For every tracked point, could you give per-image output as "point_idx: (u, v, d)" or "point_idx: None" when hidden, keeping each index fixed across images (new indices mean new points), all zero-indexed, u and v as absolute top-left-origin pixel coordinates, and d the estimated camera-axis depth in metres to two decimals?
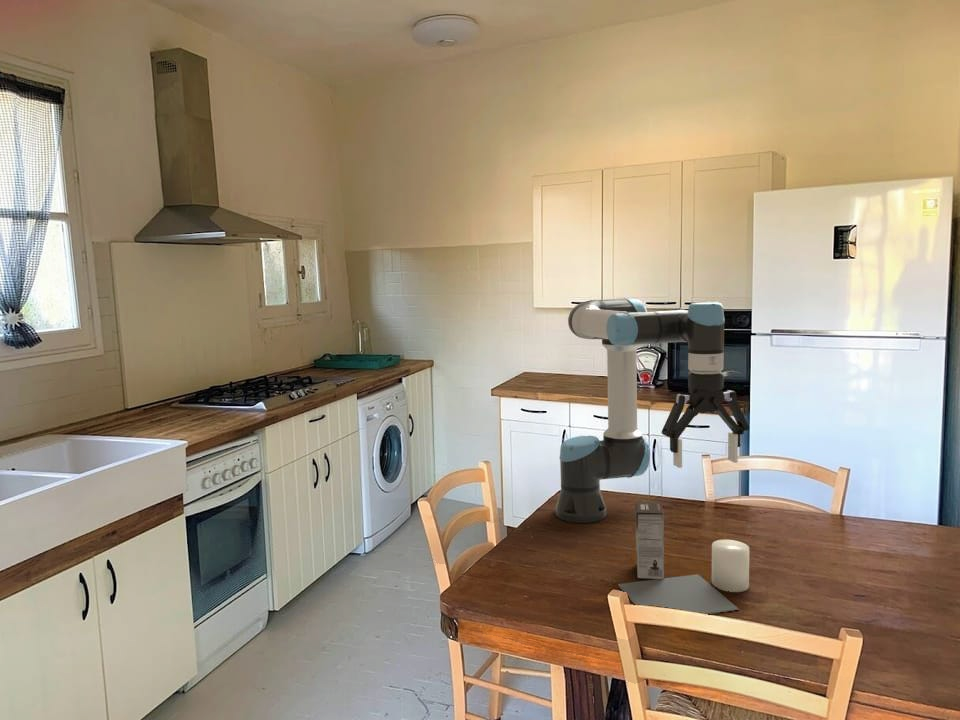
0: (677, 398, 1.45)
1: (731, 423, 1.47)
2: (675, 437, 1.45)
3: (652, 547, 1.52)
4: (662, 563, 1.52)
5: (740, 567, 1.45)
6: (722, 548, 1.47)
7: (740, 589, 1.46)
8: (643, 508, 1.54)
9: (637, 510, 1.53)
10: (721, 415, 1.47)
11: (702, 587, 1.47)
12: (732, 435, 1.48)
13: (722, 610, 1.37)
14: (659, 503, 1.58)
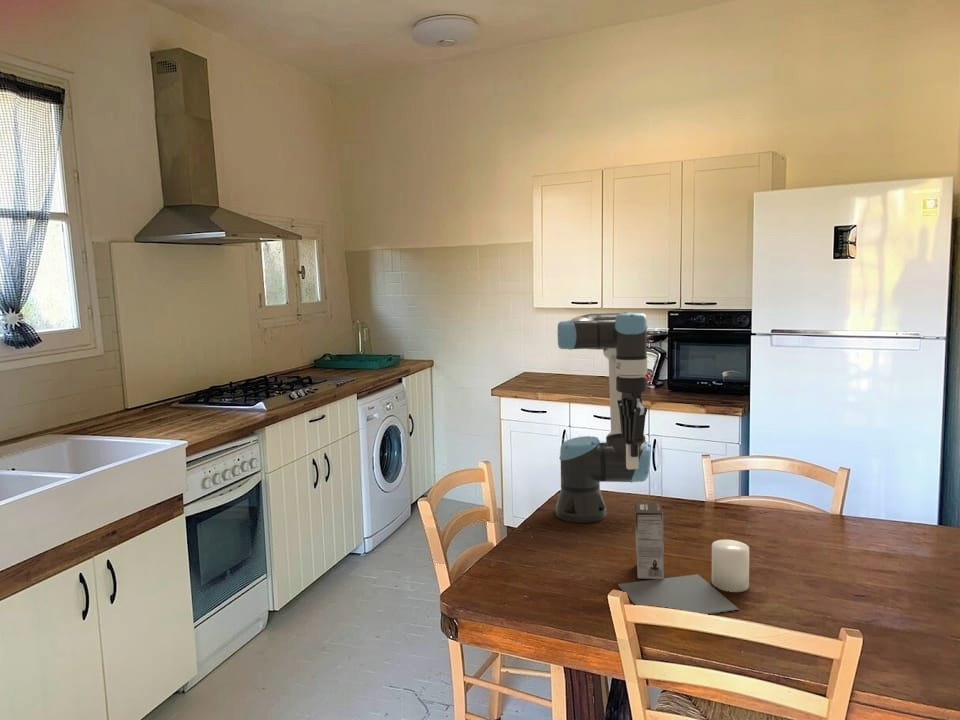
0: None
1: (629, 430, 1.61)
2: (625, 440, 1.64)
3: (652, 547, 1.52)
4: (662, 563, 1.52)
5: (740, 567, 1.45)
6: (722, 548, 1.47)
7: (740, 589, 1.46)
8: (643, 509, 1.54)
9: (636, 511, 1.53)
10: None
11: (702, 587, 1.47)
12: None
13: (722, 610, 1.37)
14: (658, 503, 1.58)
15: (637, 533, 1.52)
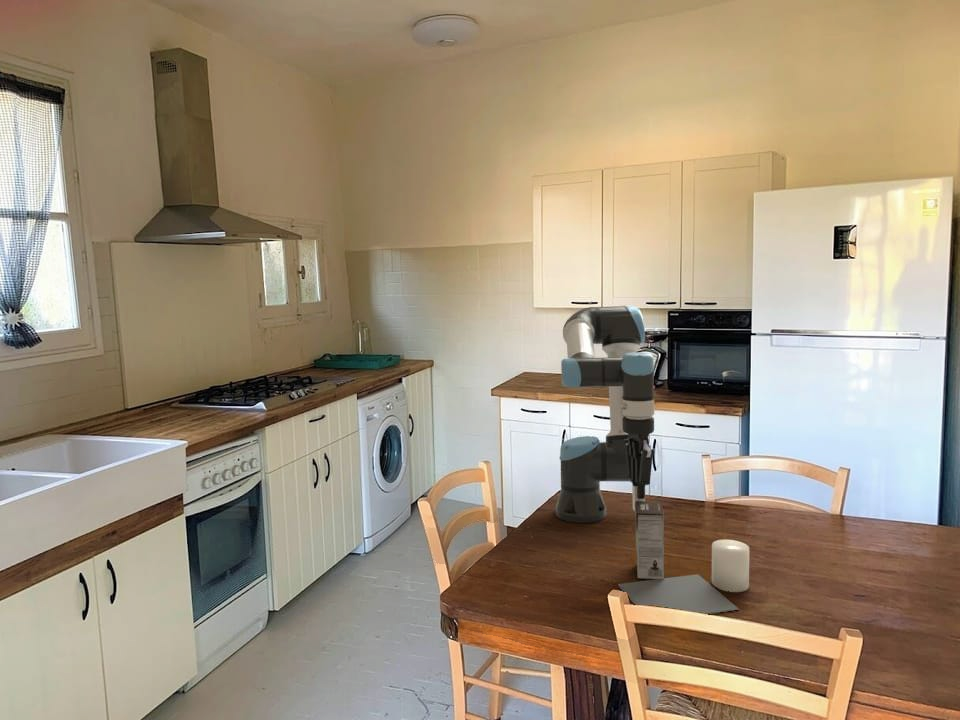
0: None
1: (635, 472, 1.59)
2: (631, 481, 1.61)
3: (652, 548, 1.51)
4: (662, 563, 1.51)
5: (740, 567, 1.45)
6: (722, 548, 1.47)
7: (740, 589, 1.46)
8: (643, 509, 1.54)
9: (637, 511, 1.52)
10: None
11: (702, 587, 1.47)
12: None
13: (722, 610, 1.37)
14: (659, 502, 1.57)
15: (637, 533, 1.52)
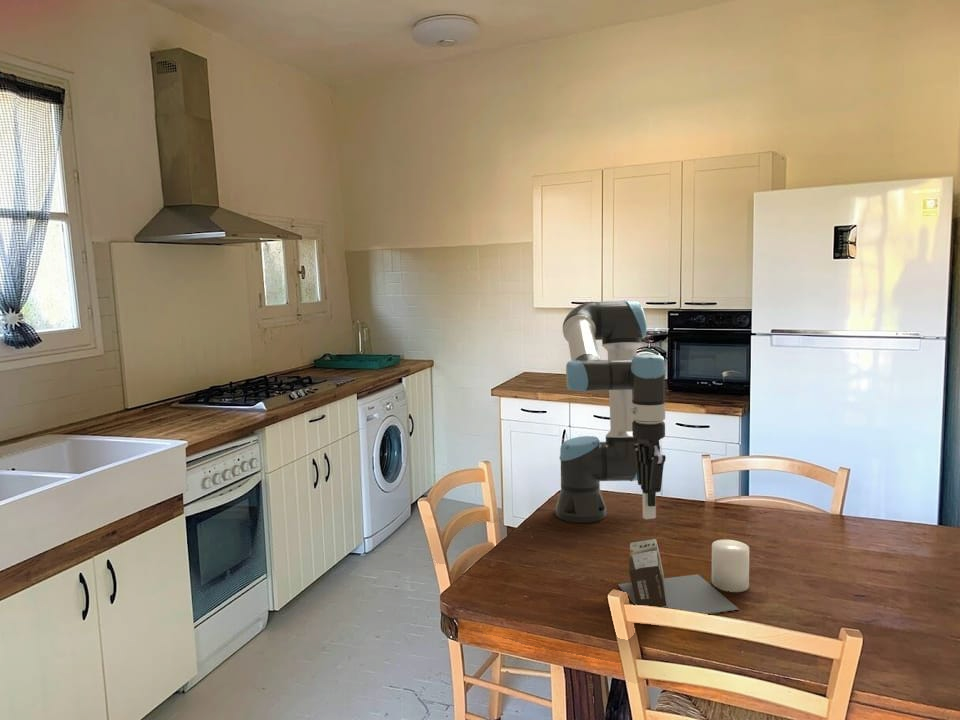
0: None
1: (646, 478, 1.53)
2: (641, 488, 1.56)
3: None
4: None
5: (740, 567, 1.45)
6: (722, 548, 1.47)
7: (740, 589, 1.46)
8: (643, 597, 1.37)
9: (637, 604, 1.37)
10: None
11: (702, 587, 1.47)
12: None
13: (722, 610, 1.37)
14: (657, 571, 1.36)
15: None
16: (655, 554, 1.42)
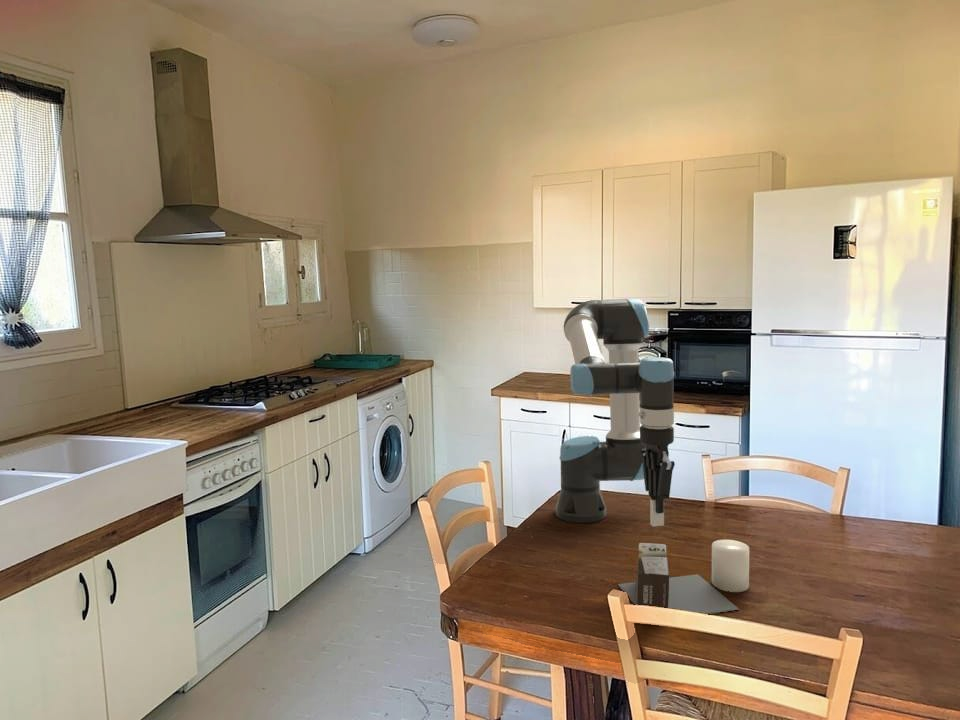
0: None
1: (654, 484, 1.49)
2: (649, 494, 1.52)
3: None
4: None
5: (740, 567, 1.45)
6: (722, 548, 1.47)
7: (740, 589, 1.46)
8: (646, 601, 1.36)
9: None
10: None
11: (702, 587, 1.47)
12: None
13: (722, 610, 1.37)
14: (666, 580, 1.35)
15: None
16: (665, 561, 1.41)
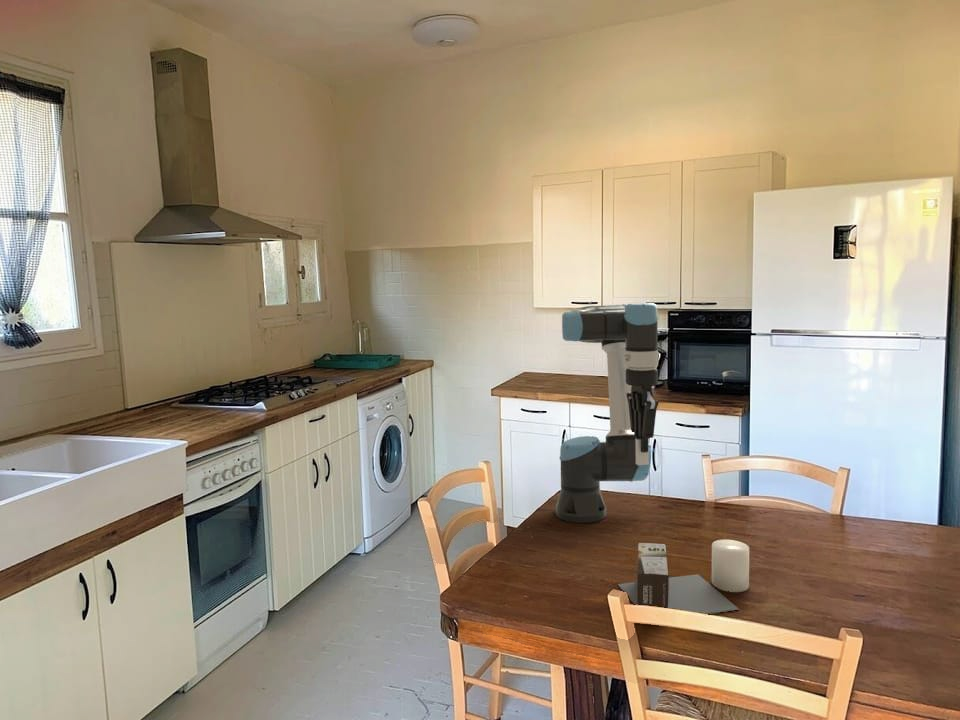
0: None
1: (639, 425, 1.55)
2: (634, 435, 1.58)
3: None
4: None
5: (740, 567, 1.45)
6: (722, 548, 1.47)
7: (740, 589, 1.46)
8: (646, 601, 1.36)
9: None
10: None
11: (702, 587, 1.47)
12: None
13: (722, 610, 1.37)
14: (665, 580, 1.35)
15: None
16: (665, 561, 1.41)
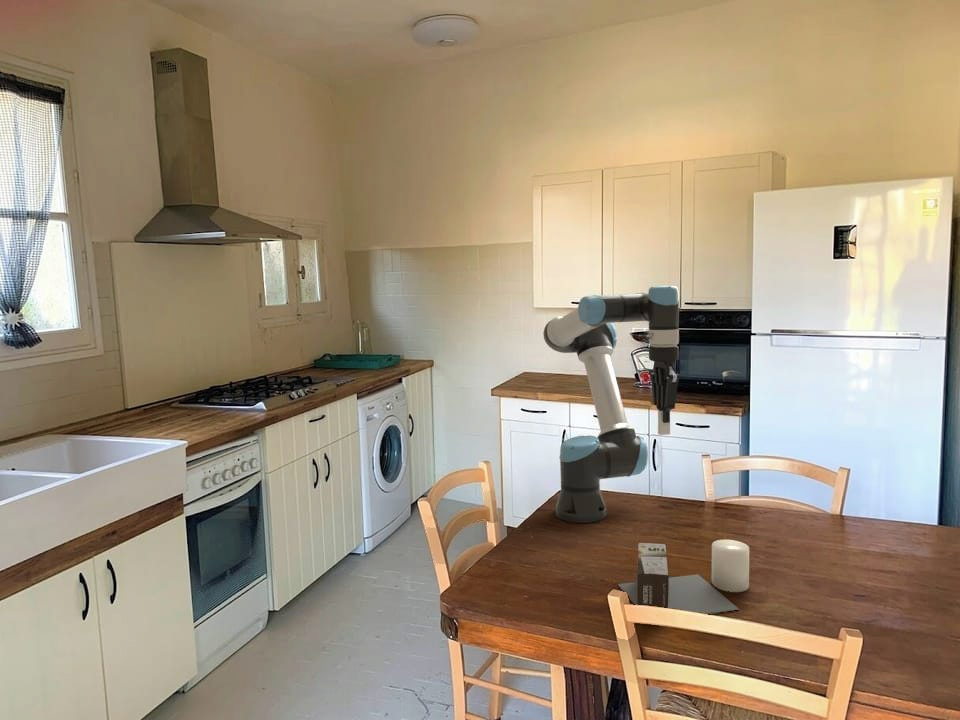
0: None
1: (661, 397, 1.70)
2: (657, 407, 1.72)
3: None
4: None
5: (740, 567, 1.45)
6: (722, 548, 1.47)
7: (740, 589, 1.46)
8: (646, 601, 1.36)
9: None
10: None
11: (702, 587, 1.47)
12: None
13: (722, 610, 1.37)
14: (665, 580, 1.35)
15: None
16: (665, 561, 1.41)
